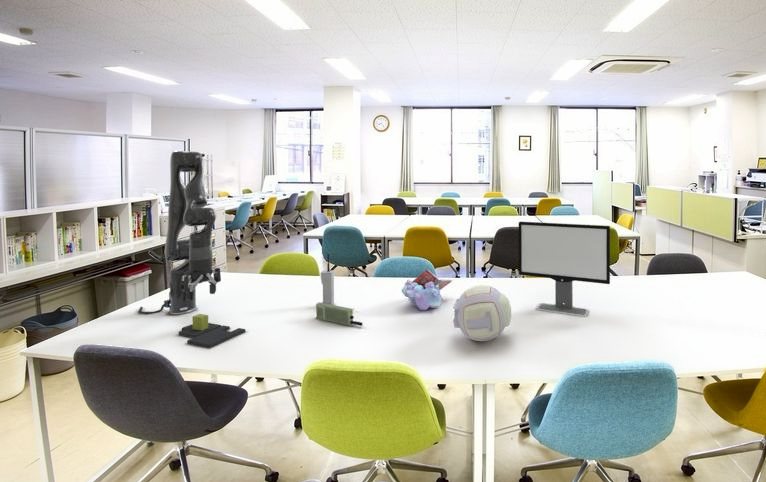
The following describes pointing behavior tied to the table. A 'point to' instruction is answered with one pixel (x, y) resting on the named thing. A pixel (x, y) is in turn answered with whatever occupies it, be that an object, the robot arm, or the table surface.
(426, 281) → the lavender knobbly lump
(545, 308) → the computer monitor
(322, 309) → the handheld radio
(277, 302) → the table surface
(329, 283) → the vintage mobile phone
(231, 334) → the charcoal pad
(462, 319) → the paneled ball
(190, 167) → the robot arm
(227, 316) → the table surface
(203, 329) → the black pad
